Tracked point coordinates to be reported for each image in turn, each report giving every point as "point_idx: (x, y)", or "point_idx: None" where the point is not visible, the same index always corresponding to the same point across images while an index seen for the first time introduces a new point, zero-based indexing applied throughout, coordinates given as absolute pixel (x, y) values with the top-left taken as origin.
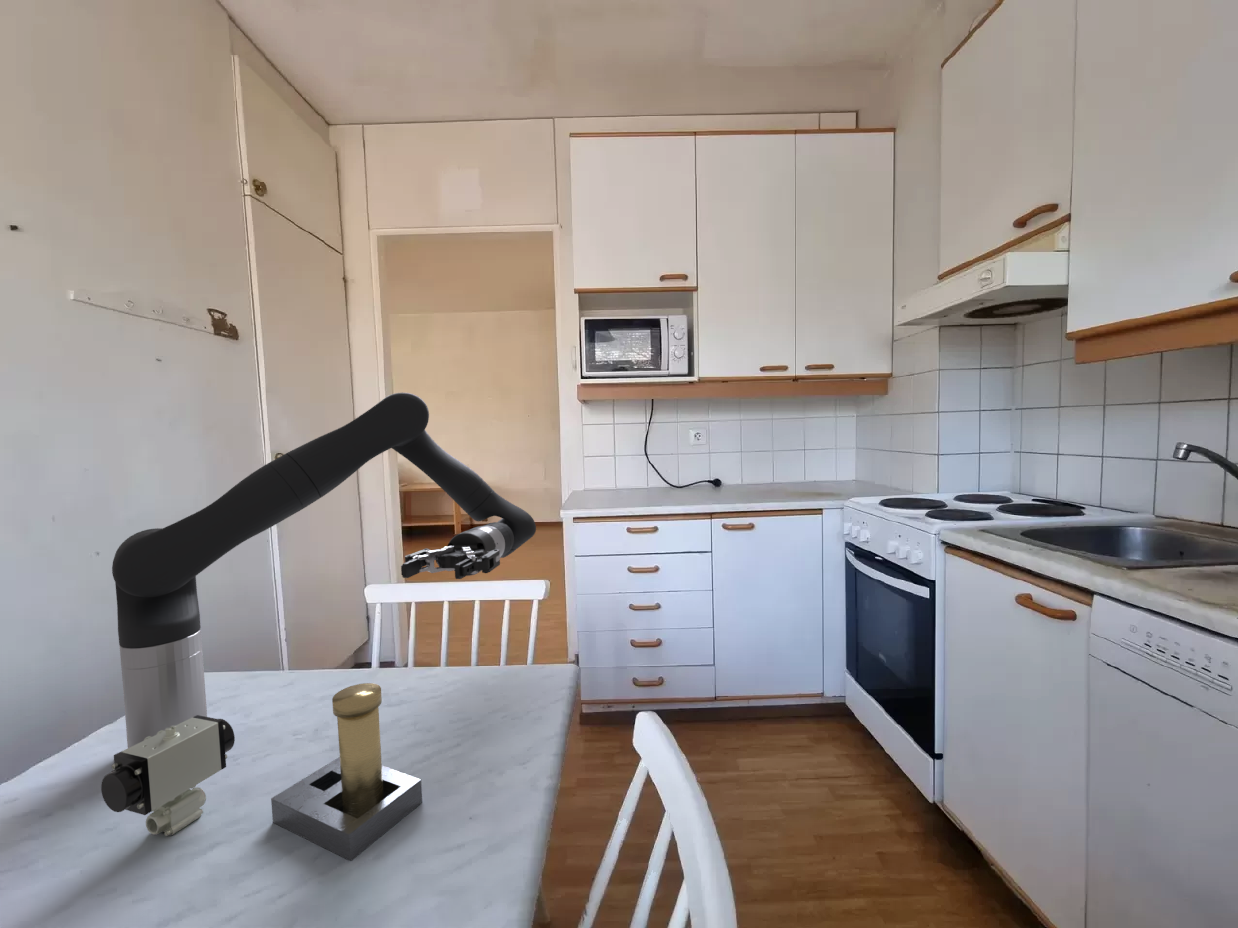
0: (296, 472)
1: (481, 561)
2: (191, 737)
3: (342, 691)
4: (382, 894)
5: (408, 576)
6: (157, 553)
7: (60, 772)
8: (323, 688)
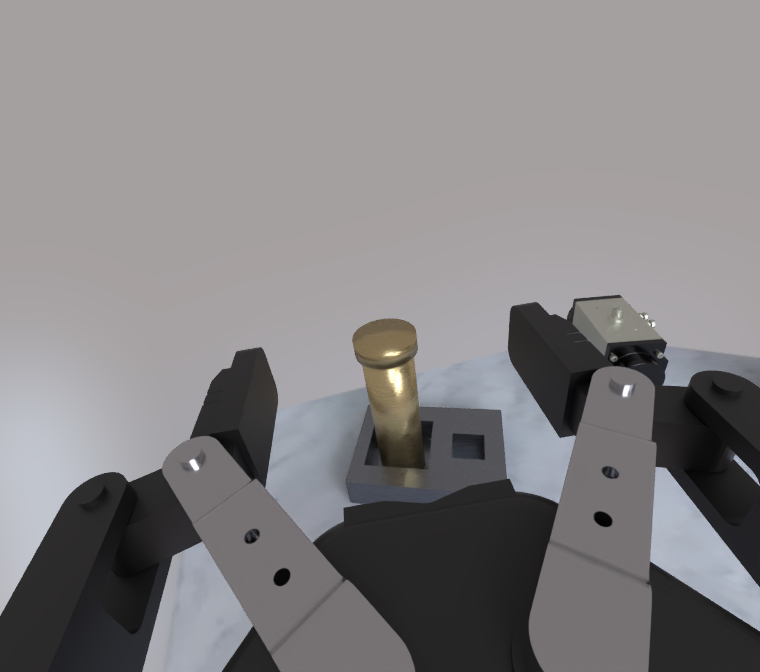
0: None
1: (138, 481)
2: (593, 326)
3: (410, 332)
4: (320, 412)
5: (512, 360)
6: None
7: None
8: None
